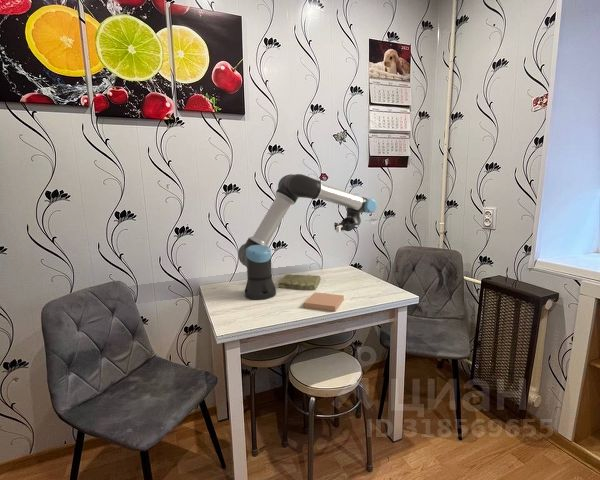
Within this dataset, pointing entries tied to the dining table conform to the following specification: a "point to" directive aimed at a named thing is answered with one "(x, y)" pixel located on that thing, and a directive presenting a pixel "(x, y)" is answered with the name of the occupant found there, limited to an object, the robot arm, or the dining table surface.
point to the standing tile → (324, 301)
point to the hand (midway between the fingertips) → (337, 229)
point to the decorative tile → (300, 282)
